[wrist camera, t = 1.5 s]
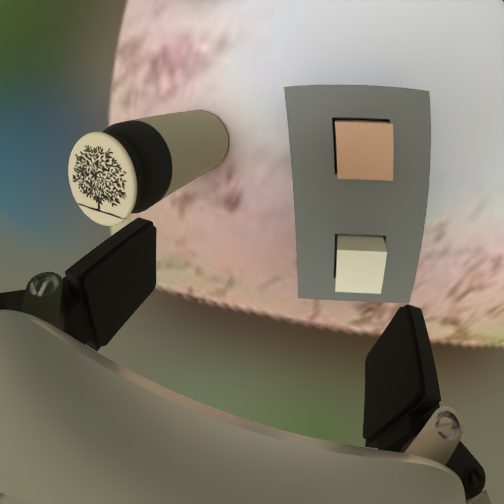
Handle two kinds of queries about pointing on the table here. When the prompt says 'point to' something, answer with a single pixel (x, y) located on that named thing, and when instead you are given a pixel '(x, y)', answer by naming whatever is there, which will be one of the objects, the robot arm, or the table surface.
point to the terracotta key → (364, 149)
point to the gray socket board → (357, 185)
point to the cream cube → (360, 263)
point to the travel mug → (143, 162)
